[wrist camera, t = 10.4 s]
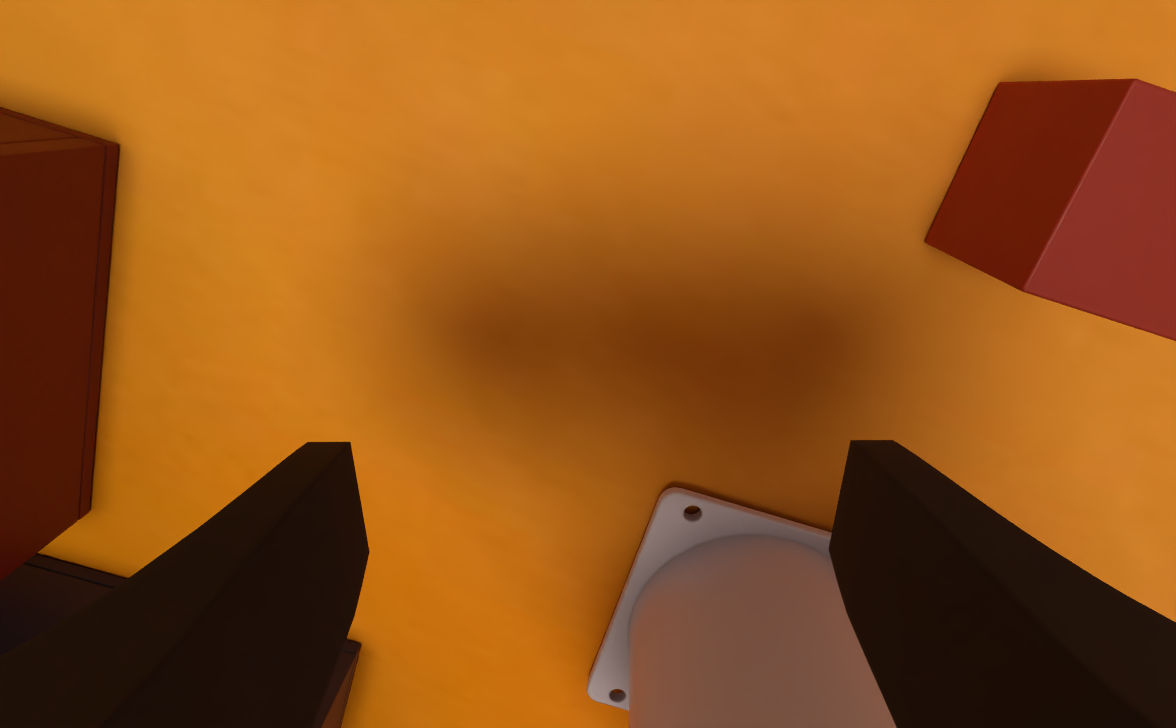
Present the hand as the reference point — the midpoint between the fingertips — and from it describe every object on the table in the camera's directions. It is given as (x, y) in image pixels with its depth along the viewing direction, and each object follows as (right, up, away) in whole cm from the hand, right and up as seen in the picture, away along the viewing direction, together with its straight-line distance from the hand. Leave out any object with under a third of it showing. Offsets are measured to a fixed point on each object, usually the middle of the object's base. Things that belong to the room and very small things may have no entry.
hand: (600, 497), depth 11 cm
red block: (+11, +6, +7) cm, 15 cm away
